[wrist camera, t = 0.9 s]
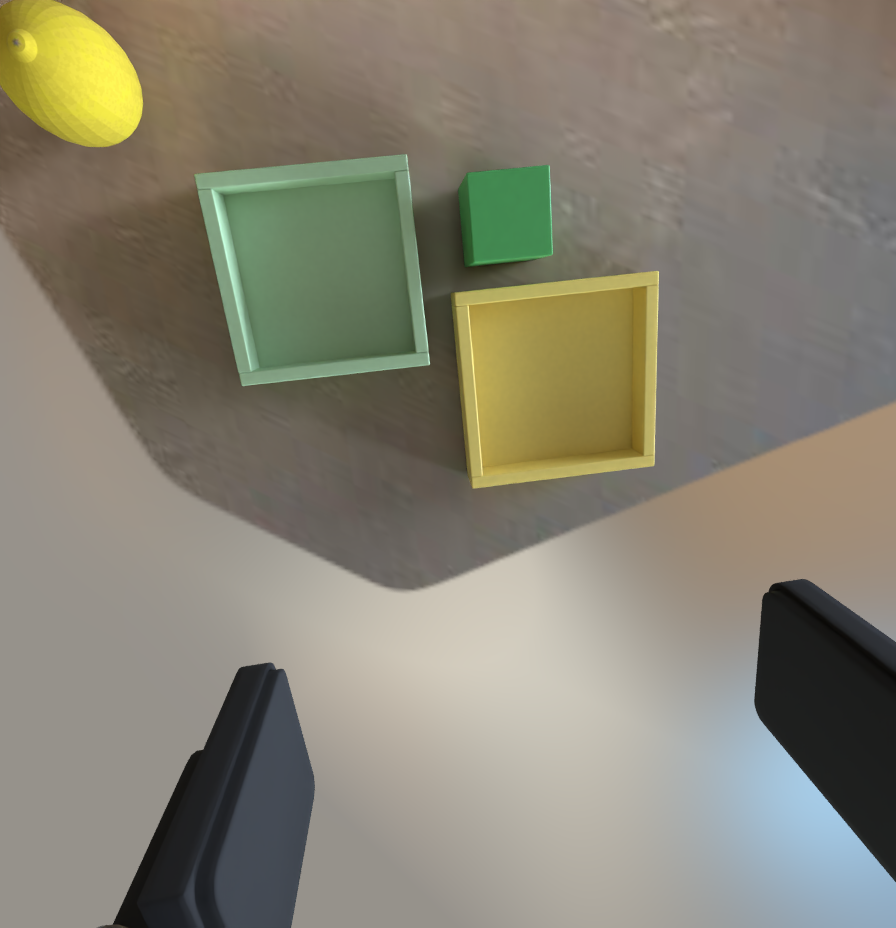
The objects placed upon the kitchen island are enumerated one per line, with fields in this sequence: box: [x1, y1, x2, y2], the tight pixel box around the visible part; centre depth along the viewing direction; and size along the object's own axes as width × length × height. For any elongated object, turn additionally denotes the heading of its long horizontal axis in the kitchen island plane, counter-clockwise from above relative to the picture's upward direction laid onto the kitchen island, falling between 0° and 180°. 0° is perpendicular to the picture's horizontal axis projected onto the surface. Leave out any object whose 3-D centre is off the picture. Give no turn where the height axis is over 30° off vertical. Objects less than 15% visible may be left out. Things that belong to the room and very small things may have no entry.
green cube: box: [458, 165, 553, 267], centre depth 31 cm, size 4×4×4 cm
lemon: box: [0, 0, 143, 147], centre depth 26 cm, size 6×6×8 cm
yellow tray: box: [451, 271, 659, 488], centre depth 35 cm, size 13×13×3 cm
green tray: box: [194, 154, 430, 386], centre depth 32 cm, size 12×12×3 cm
